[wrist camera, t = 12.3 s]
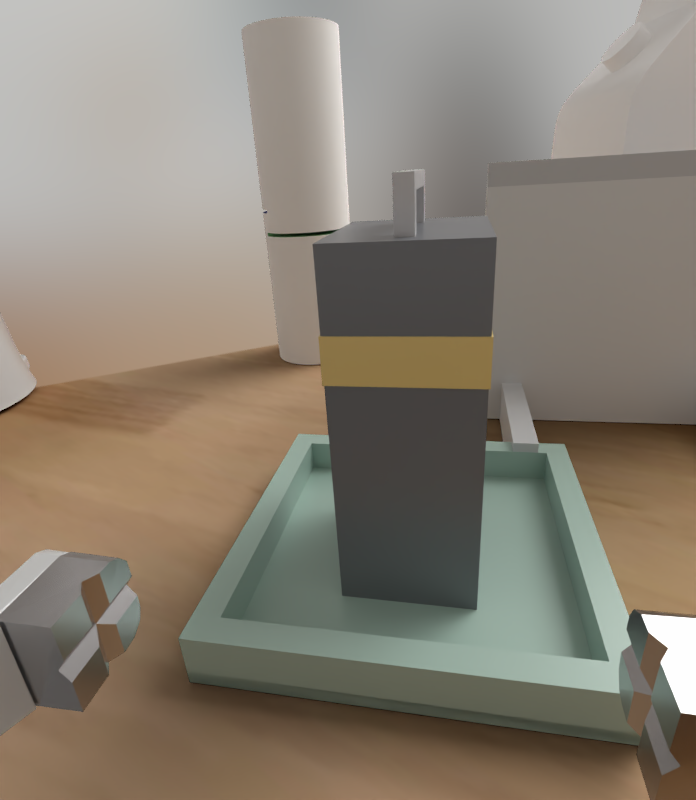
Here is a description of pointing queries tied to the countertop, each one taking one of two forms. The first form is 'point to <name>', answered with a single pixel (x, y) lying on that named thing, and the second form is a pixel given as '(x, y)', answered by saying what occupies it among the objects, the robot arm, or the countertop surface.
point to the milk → (637, 90)
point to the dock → (593, 291)
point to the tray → (425, 609)
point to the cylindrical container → (297, 162)
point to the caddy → (408, 396)
